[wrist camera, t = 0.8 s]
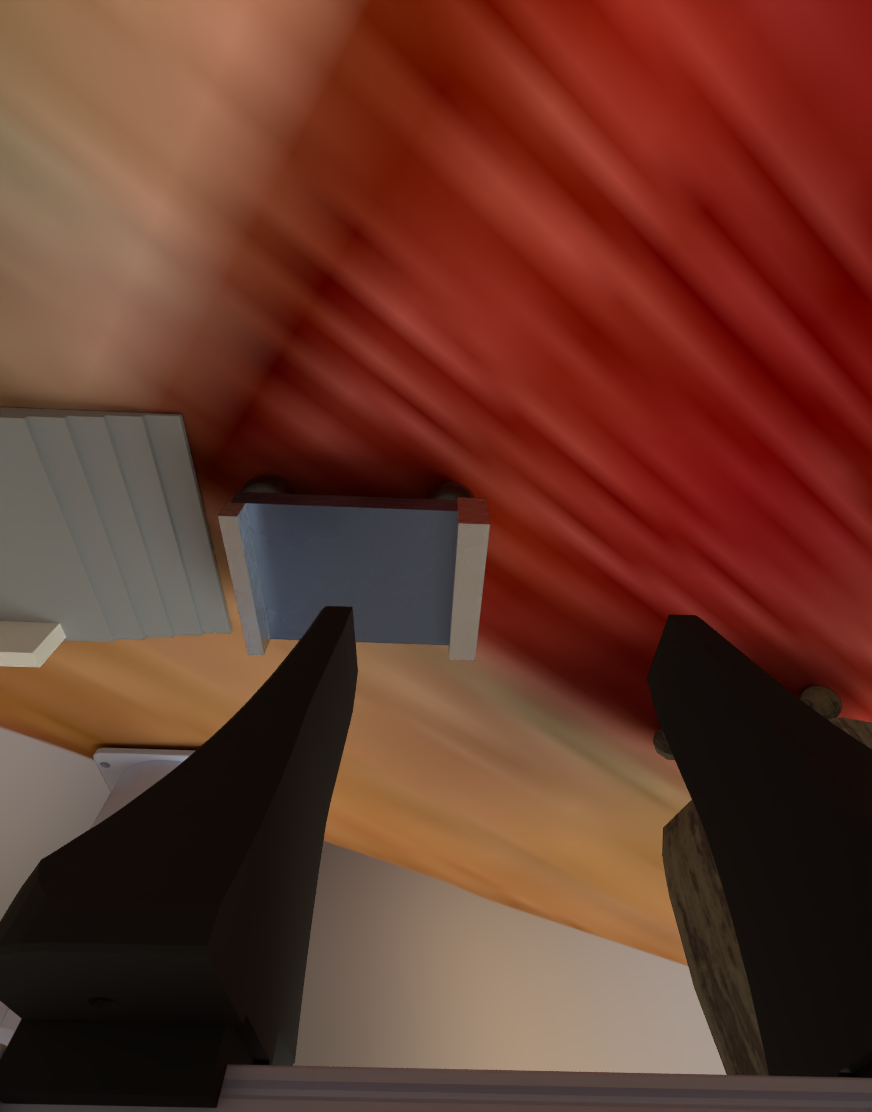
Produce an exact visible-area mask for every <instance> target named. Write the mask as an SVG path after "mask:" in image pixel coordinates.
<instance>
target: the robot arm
mask: <svg viewBox="0 0 872 1112" xmlns="http://www.w3.org/2000/svg"><path fill="white" fill-rule="evenodd" d="M357 673H358V668H357V655H356V643H355V631H354V618H353V607H348V606H325V607H324V608H323V609H322V610H321V611H320V612H319V614H318V615H317V617H316V618H315V620H314V621H313V623H312V624H311V626H310V627H309V628H308V630H307V631H306V632H305V634H304V635H303V637H302V638H301V639H300V641H299V642H298V643H297V644H296V646H295V647H294V648H293V650H292V651H291V652H290V653H289V655H288V656H287V657H286V658H285V660H284V661H283V662H282V663H281V665H280V666H279V667H278V668H277V669H276V671H275V672H274V673H273V674H272V675H271V677H270V678H269V679H268V680H267V681H266V682H265V683H264V684H263V685H262V686H261V688H260V689H259V690H258V691H257V692H256V693H255V694H254V695H253V696H252V698H251V699H250V700H249V701H248V702H247V703H246V704H245V705H244V706H243V707H242V708H241V709H240V710H239V711H238V712H237V713H236V714H235V715H234V716H233V717H232V718H231V719H230V720H229V721H228V722H227V723H226V724H225V725H224V726H223V727H222V728H221V729H220V730H218V731H217V732H216V733H215V734H214V735H213V736H212V737H211V738H210V739H209V740H208V741H206V742H205V743H204V744H203V745H202V746H201V747H199V748H198V749H197V750H165V749H133V748H99V749H97V750H96V752H95V753H94V755H93V758H94V760H95V762H96V764H97V766H98V768H99V770H100V772H101V774H102V775H103V777H104V780H105V781H106V783H107V785H108V787H109V789H110V791H111V793H110V795H109V797H108V799H107V801H106V802H105V804H104V806H103V808H102V810H101V811H100V813H99V815H98V816H97V818H96V820H95V822H94V824H93V825H92V827H91V829H90V830H88V831H86V832H85V833H83V834H82V835H80V836H79V837H77V838H75V839H74V840H72V841H71V842H70V843H68V844H66V845H64V846H63V847H61V848H60V849H58V850H57V851H55V852H53V853H52V854H50V855H48V856H47V857H45V858H43V859H42V860H41V861H40V862H39V864H38V865H37V867H36V868H35V869H34V871H33V872H32V873H31V875H30V876H29V878H28V879H27V880H26V882H25V883H24V884H23V886H22V887H21V889H20V890H19V892H18V894H17V895H16V897H15V898H14V900H13V901H12V903H11V905H10V906H9V908H8V910H7V911H6V913H5V915H4V916H3V918H2V919H1V921H0V1112H872V749H871V748H869V747H868V746H866V745H864V744H863V743H861V742H860V741H858V740H857V739H855V738H854V737H852V736H851V735H849V734H848V733H846V732H845V731H843V730H842V729H840V728H839V727H837V726H836V725H835V724H833V723H832V722H830V721H829V720H827V719H826V718H825V717H823V716H822V715H821V714H819V713H818V712H817V711H815V710H814V709H813V708H811V707H810V706H808V705H807V704H806V703H804V702H803V701H802V700H800V699H799V698H798V697H796V696H795V695H794V694H793V693H791V692H790V691H789V690H787V689H786V688H785V687H783V686H782V685H781V684H780V683H778V682H777V681H776V680H775V679H773V678H772V677H771V676H770V675H768V674H767V673H766V672H765V671H764V670H762V669H761V668H760V667H759V666H757V665H756V664H755V663H754V662H753V661H751V660H750V659H749V658H748V657H746V656H745V655H744V654H743V653H742V652H741V651H739V650H738V649H737V648H736V647H735V646H733V645H732V644H731V643H730V642H729V641H727V640H726V639H725V638H724V637H723V636H721V635H720V634H719V633H718V632H716V631H715V630H714V629H713V628H712V627H710V626H709V625H708V624H707V623H705V622H704V621H703V620H701V619H700V618H699V617H697V616H696V615H669V617H668V619H667V622H666V625H665V628H664V631H663V634H662V637H661V639H660V642H659V645H658V648H657V651H656V654H655V657H654V659H653V662H652V665H651V668H650V671H649V674H648V677H647V681H648V685H649V689H650V692H651V696H652V700H653V704H654V707H655V711H656V714H657V717H658V720H659V723H660V725H661V728H662V730H663V733H664V735H665V737H666V740H667V742H668V745H669V747H670V749H671V752H672V754H673V756H674V759H675V761H676V763H677V766H678V768H679V770H680V773H681V775H682V777H683V780H684V782H685V784H686V787H687V789H688V791H689V793H690V796H691V798H692V800H693V803H694V805H695V807H696V810H697V812H698V815H699V817H700V820H701V823H702V825H703V828H704V830H705V833H706V836H707V839H708V842H709V845H710V849H711V852H712V855H713V858H714V861H715V864H716V868H717V871H718V874H719V877H720V880H721V884H722V887H723V891H724V894H725V898H726V901H727V905H728V908H729V911H730V915H731V918H732V922H733V925H734V929H735V933H736V937H737V940H738V944H739V948H740V952H741V956H742V960H743V964H744V968H745V971H746V975H747V979H748V983H749V987H750V991H751V996H752V1000H753V1005H754V1009H755V1013H756V1018H757V1022H758V1027H759V1031H760V1036H761V1040H762V1044H763V1049H764V1054H765V1059H766V1064H767V1069H768V1074H769V1076H752V1075H705V1074H655V1073H608V1072H562V1071H561V1072H560V1071H513V1070H467V1069H417V1068H372V1067H324V1066H322V1067H321V1066H292V1065H293V1064H294V1063H295V1056H296V1046H297V1037H298V1028H299V1020H300V1011H301V1003H302V994H303V986H304V978H305V970H306V962H307V954H308V947H309V939H310V931H311V923H312V915H313V909H314V902H315V895H316V887H317V880H318V873H319V866H320V859H321V853H322V846H323V840H324V833H325V827H326V821H327V816H328V811H329V807H330V802H331V798H332V794H333V790H334V786H335V782H336V778H337V774H338V770H339V766H340V762H341V758H342V754H343V749H344V745H345V741H346V737H347V733H348V729H349V725H350V721H351V717H352V712H353V705H354V698H355V690H356V682H357Z"/></svg>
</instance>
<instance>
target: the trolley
mask: <svg viewBox="0 0 872 1112" xmlns="http://www.w3.org/2000/svg"><path fill="white" fill-rule="evenodd" d="M218 519H219V524H220V528H221V533H222V537H223V542H224V547H225V551H226V556H227V560H228V565H229V570H230V574H231V579H232V583H233V588H234V593H235V597H236V602H237V606H238V611H239V616H240V620H241V625H242V629H243V634H244V638H245V643H246V648H247V652H248V655H264V654H265V651H266V649H267V646H268V644H269V641H270V639H285V640H300V639H301V638H302V637H303V635H304V634H305V632H306V631H307V630H308V628H309V627H310V626H311V624H312V623H313V621H314V620H315V618H316V617H317V615H318V614H319V612H320V611H321V610H322V609H323V608H324V607H325V606H348V607H353V618H354V631H355V642H372V643H401V644H431V645H449V660H473V661H475V656H476V647H477V638H478V629H479V620H480V611H481V601H482V592H483V583H484V574H485V565H486V556H487V547H488V538H489V529H490V522H489V515H488V509H487V502H486V498H475V497H474V495H473V493H472V492H471V491H470V490H469V489H468V488H467V487H466V486H464V485H462V484H460V483H457V482H443V483H440V484H438V485H436V486H435V487H433V488H432V489H431V490H430V491H429V492H428V493H427V495H426V497H425V499H416V498H390V497H364V496H338V495H312V494H295V492H294V490H293V488H292V487H291V485H290V484H289V483H288V482H287V481H285V480H284V479H282V478H280V477H278V476H275V475H268V474H267V475H260V476H256V477H254V478H252V479H251V480H249V481H248V482H247V483H246V484H245V485H244V487H243V489H242V490H241V492H238V493H237V494H236V496H235V497H234V498H233V500H232V501H228V503H227V504H226V505H225V507H224V508H223V509H222V511H221V512H220V514H219V515H218Z"/></svg>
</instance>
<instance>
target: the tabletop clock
mask: <svg viewBox="0 0 872 1112" xmlns="http://www.w3.org/2000/svg"><path fill="white" fill-rule="evenodd" d="M800 700H802V701H803V702H804V703H806V704H807V705H808V706H810V707H811V708H813V709H814V710H815V711H817V712H818V713H819V714H821V715H822V716H823V717H825V718H826V719H827V720H829V721H830V722H832V723H833V724H835V725H836V726H837V727H839V728H840V729H842V730H843V731H845V732H846V733H848V734H849V735H851V736H852V737H854V738H855V739H857V740H858V741H860V742H861V743H863V744H864V745H866V746H868V747H869V748H871V749H872V723H869V722H864V721H860V720H854V719H847V718H836V717H837V716H838V715H839V714H840V712H841V709H842V704H841V700H840V698H839V696H838V695H837V694H836V693H835V692H834V691H832V690H831V689H829V688H827V687H823V686H811V687H808V688H807V689H805V690H804V691H803V692H802V694H801V696H800ZM653 743H654V746H655V750H656V751H657V753H659V754H660V755H662V756H663V757H665V758H666V759H668V760H675V759H674V756H673V754H672V752H671V749H670V747H669V745H668V742H667V740H666V737H665V735H664V733H663V730H662V728H660V729H659V730H657V731H656V732H655V735H654V738H653ZM662 856H663V863H664V869H665V876H666V881H667V886H668V891H669V897H670V900H671V904H672V908H673V911H674V915H675V919H676V922H677V926H678V930H679V933H680V937H681V941H682V944H683V948H684V952H685V955H686V959H687V963H688V966H689V969H690V973H691V977H692V981H693V985H694V988H695V991H696V994H697V996H698V999H699V1002H700V1004H701V1007H702V1010H703V1012H704V1015H705V1018H706V1020H707V1023H708V1025H709V1028H710V1031H711V1034H712V1036H713V1039H714V1042H715V1044H716V1047H717V1049H718V1052H719V1055H720V1058H721V1060H722V1063H723V1066H724V1068H725V1071H726V1074H727V1075H752V1076H769V1074H768V1069H767V1064H766V1059H765V1054H764V1049H763V1044H762V1040H761V1036H760V1031H759V1027H758V1022H757V1018H756V1013H755V1009H754V1005H753V1000H752V996H751V991H750V987H749V983H748V979H747V975H746V971H745V968H744V964H743V960H742V956H741V952H740V948H739V944H738V940H737V937H736V933H735V929H734V925H733V922H732V918H731V915H730V911H729V908H728V905H727V901H726V898H725V894H724V891H723V887H722V884H721V880H720V877H719V874H718V871H717V868H716V864H715V861H714V858H713V855H712V852H711V849H710V845H709V842H708V839H707V836H706V833H705V830H704V828H703V825H702V823H701V820H700V817H699V815H698V812H697V810H696V807H695V805H694V803H693V800H691V801H690V802H689V803H688V804H687V805H686V806H685V807H684V808H683V809H682V810H681V811H680V812H679V813H678V814H677V815H676V816H675V817H674V818H673V819H672V820H671V821H670V822H669V823H668V824H667V825H666V826H664V827H663V848H662Z"/></svg>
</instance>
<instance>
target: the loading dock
mask: <svg viewBox="0 0 872 1112" xmlns="http://www.w3.org/2000/svg"><path fill="white" fill-rule="evenodd" d="M231 632H232V628H231V624H230V619H229V615H228V611H227V607H226V602H225V598H224V594H223V589H222V585H221V581H220V576H219V572H218V568H217V564H216V559H215V555H214V551H213V546H212V542H211V538H210V533H209V529H208V525H207V521H206V516H205V512H204V508H203V503H202V499H201V495H200V490H199V486H198V482H197V478H196V473H195V469H194V465H193V460H192V456H191V452H190V447H189V443H188V439H187V434H186V430H185V426H184V422H183V417H182V414H160V413H135V412H110V411H85V410H61V409H36V408H11V407H0V666H14V667H41V666H42V664H43V663H44V662H45V661H46V660H47V659H48V658H49V656H50V655H51V654H52V653H53V652H54V651H55V649H56V648H57V647H58V646H59V645H60V644H61V643H62V641H63V640H66V641H95V642H115V640H116V639H131V640H144V639H145V638H146V637H165V638H173V637H174V636H175V635H197V636H202V635H203V633H228V634H231Z"/></svg>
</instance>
